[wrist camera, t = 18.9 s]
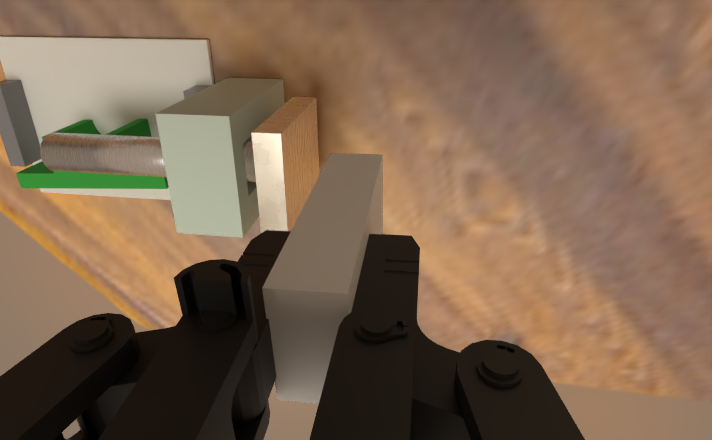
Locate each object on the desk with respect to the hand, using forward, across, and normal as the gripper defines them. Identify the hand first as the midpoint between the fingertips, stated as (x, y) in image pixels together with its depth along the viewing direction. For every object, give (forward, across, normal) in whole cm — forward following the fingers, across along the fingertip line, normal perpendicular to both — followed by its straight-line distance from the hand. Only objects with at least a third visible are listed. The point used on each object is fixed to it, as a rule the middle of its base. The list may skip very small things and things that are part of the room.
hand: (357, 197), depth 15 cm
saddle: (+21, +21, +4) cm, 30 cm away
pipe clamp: (+20, +21, +6) cm, 30 cm away
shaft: (+17, +13, +5) cm, 22 cm away
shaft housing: (+20, +10, +5) cm, 23 cm away
